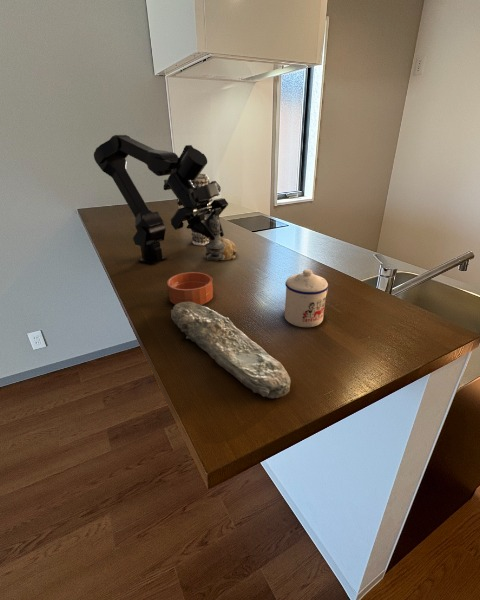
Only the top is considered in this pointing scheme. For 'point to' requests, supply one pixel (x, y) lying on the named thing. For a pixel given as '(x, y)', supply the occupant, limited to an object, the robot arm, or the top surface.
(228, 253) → the bread roll
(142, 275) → the top surface
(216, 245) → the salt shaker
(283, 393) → the elongated rock
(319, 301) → the teacup with lid
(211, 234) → the robot arm
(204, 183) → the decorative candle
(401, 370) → the top surface
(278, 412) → the top surface
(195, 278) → the bowl
